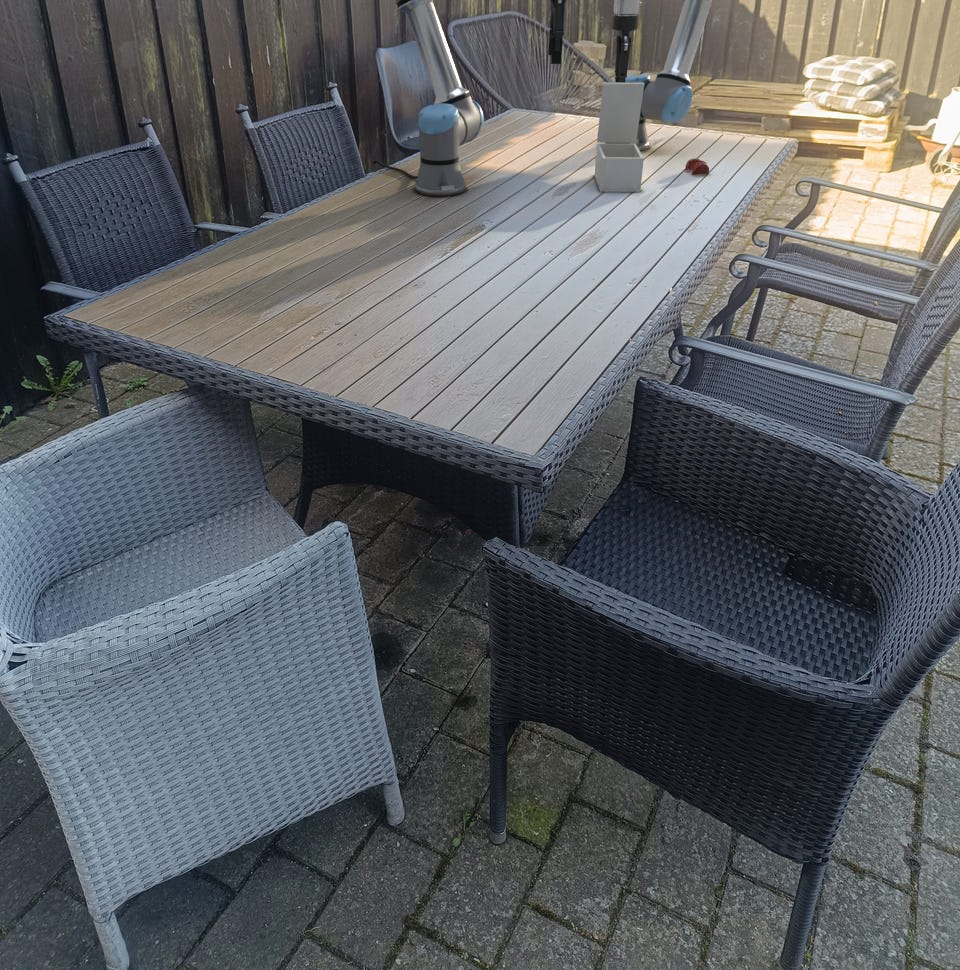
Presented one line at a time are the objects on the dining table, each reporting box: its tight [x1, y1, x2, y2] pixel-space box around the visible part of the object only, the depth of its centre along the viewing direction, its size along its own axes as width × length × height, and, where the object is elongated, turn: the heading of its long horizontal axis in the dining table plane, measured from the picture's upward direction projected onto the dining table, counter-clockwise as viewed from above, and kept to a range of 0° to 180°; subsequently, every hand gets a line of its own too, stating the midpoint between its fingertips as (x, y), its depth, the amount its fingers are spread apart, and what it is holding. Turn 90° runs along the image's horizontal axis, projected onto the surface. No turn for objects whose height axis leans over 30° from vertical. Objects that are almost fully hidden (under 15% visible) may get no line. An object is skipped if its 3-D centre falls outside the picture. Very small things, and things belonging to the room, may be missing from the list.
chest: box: [594, 143, 645, 193], centre depth 261 cm, size 17×12×10 cm
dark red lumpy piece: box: [684, 157, 710, 176], centre depth 272 cm, size 6×4×8 cm
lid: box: [596, 81, 644, 144], centre depth 260 cm, size 18×12×9 cm
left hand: (554, 59), depth 237 cm, fingers open, 13 cm apart
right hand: (618, 100), depth 261 cm, fingers closed on lid, 1 cm apart
